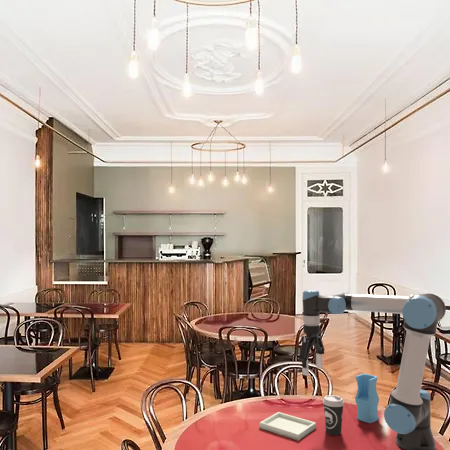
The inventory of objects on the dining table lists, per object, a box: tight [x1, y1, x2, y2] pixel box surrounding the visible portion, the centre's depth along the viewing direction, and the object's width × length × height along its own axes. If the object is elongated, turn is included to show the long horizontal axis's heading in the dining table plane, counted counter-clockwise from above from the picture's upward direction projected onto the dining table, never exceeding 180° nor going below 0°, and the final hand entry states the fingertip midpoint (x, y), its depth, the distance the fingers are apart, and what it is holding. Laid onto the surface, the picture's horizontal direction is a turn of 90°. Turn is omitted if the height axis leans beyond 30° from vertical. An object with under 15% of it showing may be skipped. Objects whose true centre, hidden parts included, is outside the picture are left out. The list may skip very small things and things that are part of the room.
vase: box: [354, 373, 380, 424], centre depth 215 cm, size 8×8×20 cm
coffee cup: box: [322, 394, 345, 436], centre depth 200 cm, size 10×10×15 cm
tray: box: [259, 411, 317, 441], centre depth 204 cm, size 20×16×2 cm
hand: (312, 371), depth 204 cm, fingers open, 13 cm apart
